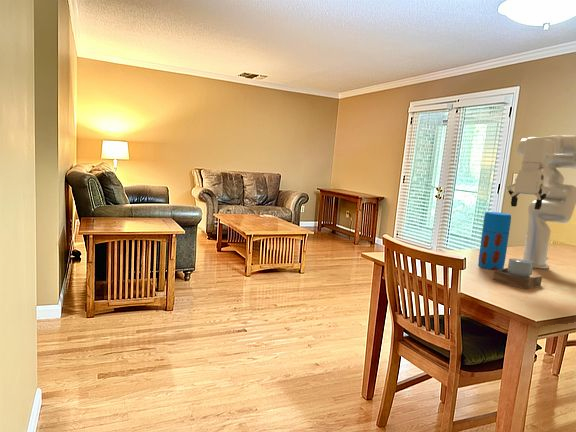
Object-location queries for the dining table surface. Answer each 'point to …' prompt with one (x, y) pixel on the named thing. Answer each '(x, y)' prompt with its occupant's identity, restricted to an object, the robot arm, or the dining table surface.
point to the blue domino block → (494, 240)
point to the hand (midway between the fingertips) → (525, 207)
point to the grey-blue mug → (520, 268)
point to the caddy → (516, 279)
